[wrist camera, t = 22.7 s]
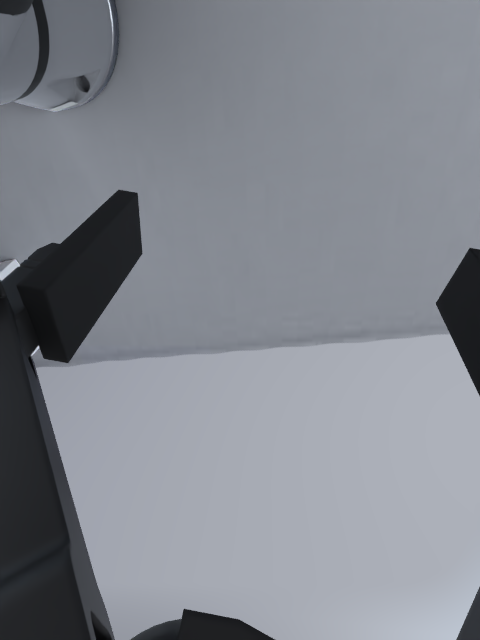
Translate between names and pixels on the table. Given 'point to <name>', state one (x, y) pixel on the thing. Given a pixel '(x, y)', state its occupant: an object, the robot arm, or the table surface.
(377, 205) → the table surface
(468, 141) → the table surface
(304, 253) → the table surface
